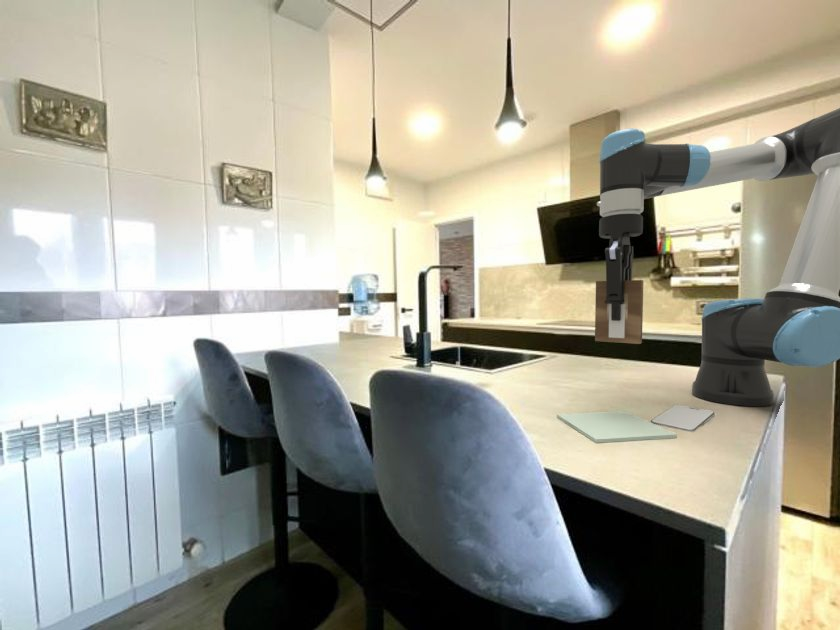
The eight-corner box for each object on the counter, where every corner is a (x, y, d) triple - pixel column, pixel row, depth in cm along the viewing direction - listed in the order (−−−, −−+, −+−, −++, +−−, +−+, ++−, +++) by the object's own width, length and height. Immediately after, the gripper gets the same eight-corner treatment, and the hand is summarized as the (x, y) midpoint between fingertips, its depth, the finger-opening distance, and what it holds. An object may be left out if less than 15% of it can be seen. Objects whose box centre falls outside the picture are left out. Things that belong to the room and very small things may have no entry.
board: (597, 339, 80) (598, 281, 80) (642, 342, 75) (643, 280, 75) (594, 341, 78) (595, 281, 78) (639, 343, 73) (641, 280, 73)
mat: (624, 413, 82) (624, 410, 82) (676, 437, 68) (676, 434, 68) (556, 417, 80) (556, 414, 80) (595, 442, 66) (595, 439, 66)
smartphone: (648, 421, 76) (675, 404, 85) (648, 427, 76) (675, 409, 85) (693, 431, 70) (716, 411, 80) (693, 437, 70) (716, 416, 80)
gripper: (609, 223, 84) (607, 332, 85) (589, 212, 72) (587, 339, 73) (649, 219, 79) (646, 334, 80) (634, 206, 67) (632, 342, 68)
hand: (618, 336), depth 77 cm, fingers closed on board, 2 cm apart
